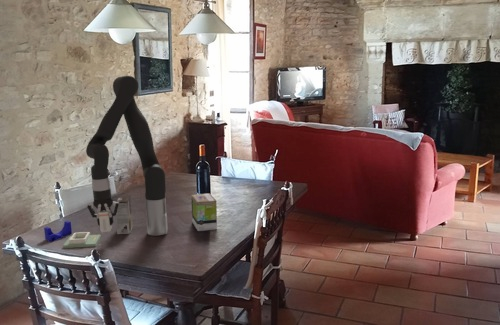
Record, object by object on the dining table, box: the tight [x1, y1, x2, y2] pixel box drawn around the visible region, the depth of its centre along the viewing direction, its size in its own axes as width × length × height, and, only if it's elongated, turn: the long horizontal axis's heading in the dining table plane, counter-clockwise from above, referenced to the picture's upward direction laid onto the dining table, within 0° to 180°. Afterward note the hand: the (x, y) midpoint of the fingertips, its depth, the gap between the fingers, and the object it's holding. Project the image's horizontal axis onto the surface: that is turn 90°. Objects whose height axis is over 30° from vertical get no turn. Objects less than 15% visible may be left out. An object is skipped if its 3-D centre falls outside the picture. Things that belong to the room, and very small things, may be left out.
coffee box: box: [114, 196, 133, 235], centre depth 235 cm, size 9×6×16 cm
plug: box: [99, 210, 113, 233], centre depth 216 cm, size 4×6×9 cm
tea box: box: [190, 192, 218, 232], centre depth 241 cm, size 15×10×15 cm, turn 17°
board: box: [62, 231, 102, 249], centre depth 222 cm, size 14×12×3 cm
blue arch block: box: [43, 220, 73, 243], centre depth 229 cm, size 12×4×6 cm, turn 144°
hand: (105, 225), depth 217 cm, fingers closed on plug, 4 cm apart
